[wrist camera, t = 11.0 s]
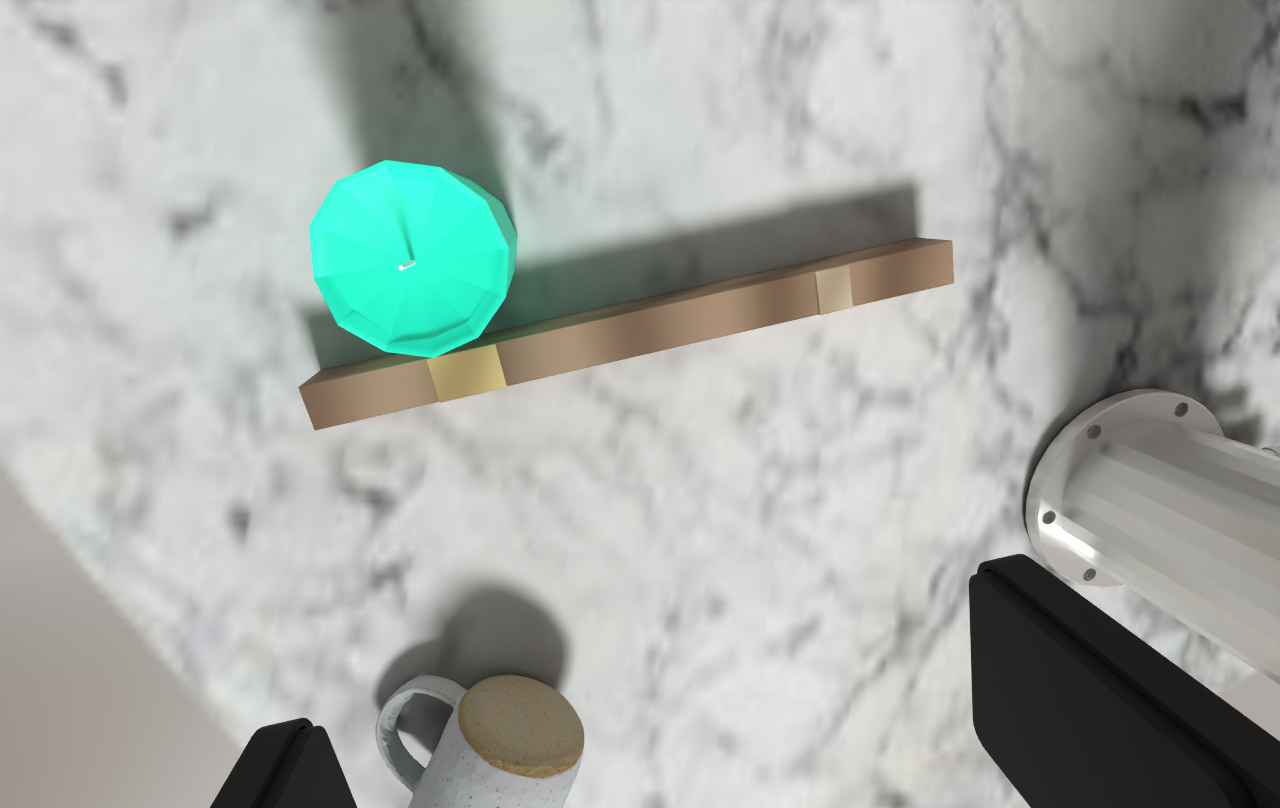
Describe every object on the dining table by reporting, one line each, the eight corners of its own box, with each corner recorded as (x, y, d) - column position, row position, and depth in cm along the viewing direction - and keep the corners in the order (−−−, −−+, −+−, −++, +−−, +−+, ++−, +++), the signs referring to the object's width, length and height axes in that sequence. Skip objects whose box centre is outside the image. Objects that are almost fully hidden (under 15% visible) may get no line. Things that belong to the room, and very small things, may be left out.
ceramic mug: (589, 680, 38) (598, 792, 31) (541, 789, 40) (539, 919, 32) (407, 635, 35) (370, 745, 28) (365, 753, 37) (320, 886, 30)
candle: (405, 153, 28) (319, 117, 17) (536, 206, 30) (537, 206, 19) (367, 282, 30) (263, 329, 18) (494, 328, 31) (471, 397, 20)
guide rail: (916, 237, 33) (954, 240, 30) (918, 276, 34) (956, 283, 31) (320, 370, 30) (296, 388, 27) (334, 409, 31) (313, 431, 28)
